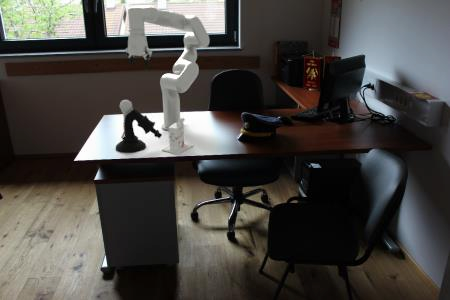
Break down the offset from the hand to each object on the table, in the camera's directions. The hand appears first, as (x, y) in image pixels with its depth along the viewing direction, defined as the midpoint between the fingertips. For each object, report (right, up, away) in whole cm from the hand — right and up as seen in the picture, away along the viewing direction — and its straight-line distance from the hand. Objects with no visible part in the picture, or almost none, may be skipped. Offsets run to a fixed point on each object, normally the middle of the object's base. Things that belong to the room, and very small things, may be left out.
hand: (139, 66), depth 217 cm
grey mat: (+20, -43, -5) cm, 48 cm away
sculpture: (+1, -43, -4) cm, 43 cm away
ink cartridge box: (+20, -43, -5) cm, 47 cm away
